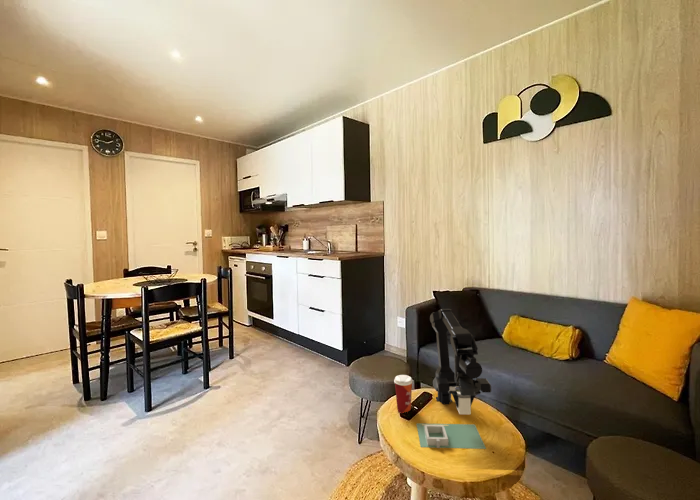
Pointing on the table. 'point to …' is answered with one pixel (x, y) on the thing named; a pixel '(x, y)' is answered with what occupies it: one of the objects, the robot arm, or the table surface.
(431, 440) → the board
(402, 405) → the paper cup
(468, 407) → the plug
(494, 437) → the table surface
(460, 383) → the robot arm
